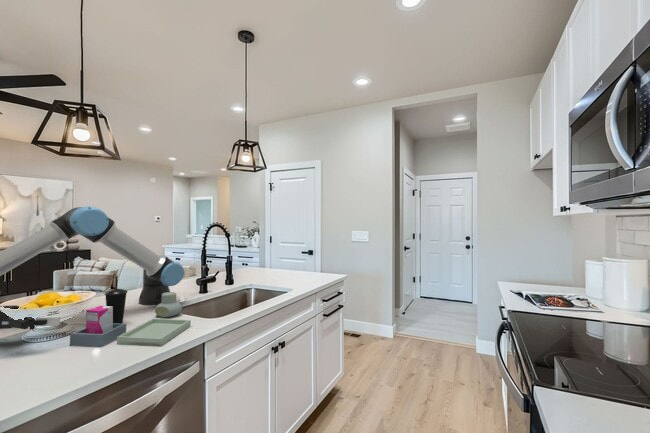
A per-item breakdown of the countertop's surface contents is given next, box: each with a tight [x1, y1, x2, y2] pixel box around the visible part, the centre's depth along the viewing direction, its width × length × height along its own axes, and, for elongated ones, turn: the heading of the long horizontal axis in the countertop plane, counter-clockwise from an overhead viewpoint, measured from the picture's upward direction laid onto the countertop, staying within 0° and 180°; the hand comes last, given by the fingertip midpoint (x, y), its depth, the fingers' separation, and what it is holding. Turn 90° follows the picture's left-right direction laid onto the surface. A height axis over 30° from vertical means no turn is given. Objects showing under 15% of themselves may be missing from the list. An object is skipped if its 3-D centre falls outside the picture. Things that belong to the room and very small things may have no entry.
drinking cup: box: [104, 275, 128, 324], centre depth 124 cm, size 8×8×20 cm
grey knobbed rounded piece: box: [154, 291, 183, 319], centre depth 138 cm, size 11×8×10 cm
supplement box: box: [85, 305, 113, 334], centre depth 110 cm, size 6×6×12 cm
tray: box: [116, 318, 192, 347], centre depth 116 cm, size 20×16×2 cm
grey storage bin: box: [69, 323, 127, 348], centre depth 110 cm, size 12×12×4 cm
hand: (72, 314), depth 108 cm, fingers open, 13 cm apart
